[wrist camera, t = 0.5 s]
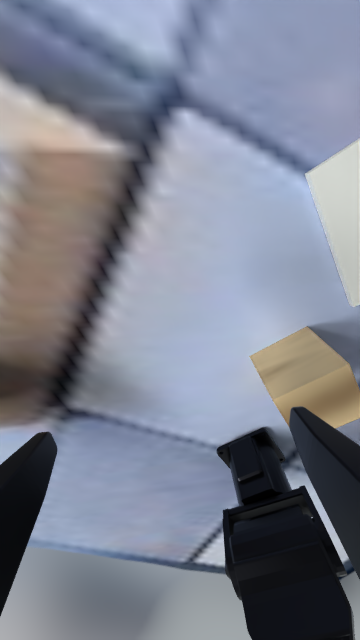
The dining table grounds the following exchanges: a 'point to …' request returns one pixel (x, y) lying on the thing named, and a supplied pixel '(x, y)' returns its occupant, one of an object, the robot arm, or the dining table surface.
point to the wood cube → (309, 378)
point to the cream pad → (341, 212)
